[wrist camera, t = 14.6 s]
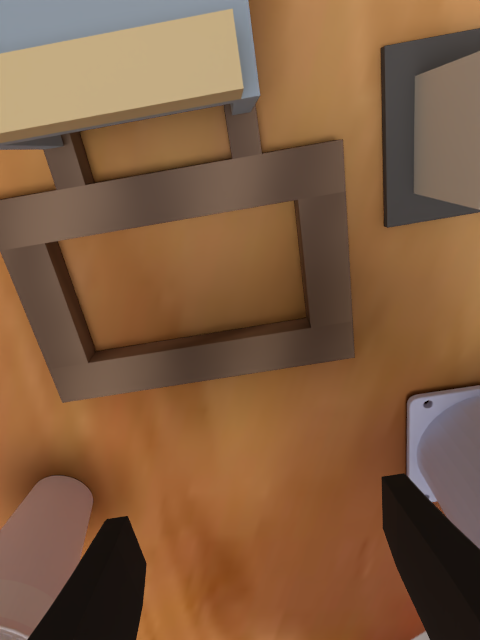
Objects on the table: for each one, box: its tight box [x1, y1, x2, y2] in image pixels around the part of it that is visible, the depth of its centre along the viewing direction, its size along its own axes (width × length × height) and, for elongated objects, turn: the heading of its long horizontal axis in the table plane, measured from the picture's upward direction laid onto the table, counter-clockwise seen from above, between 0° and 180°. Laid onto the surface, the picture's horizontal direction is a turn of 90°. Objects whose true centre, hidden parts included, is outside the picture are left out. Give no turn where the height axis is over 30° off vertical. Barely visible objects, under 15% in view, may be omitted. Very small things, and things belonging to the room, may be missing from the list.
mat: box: [381, 28, 480, 228], centre depth 17 cm, size 7×7×1 cm
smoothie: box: [0, 476, 93, 640], centre depth 18 cm, size 6×6×14 cm
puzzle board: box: [0, 104, 355, 403], centre depth 17 cm, size 15×20×1 cm
